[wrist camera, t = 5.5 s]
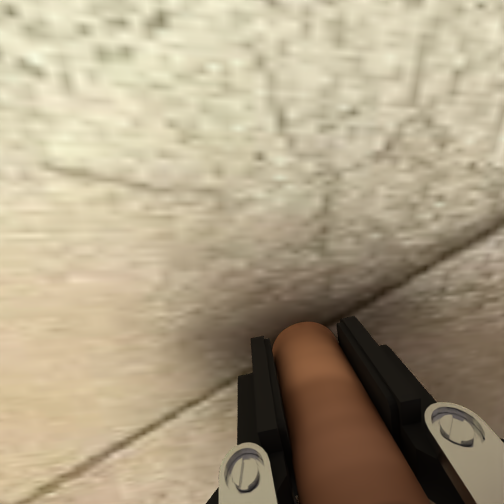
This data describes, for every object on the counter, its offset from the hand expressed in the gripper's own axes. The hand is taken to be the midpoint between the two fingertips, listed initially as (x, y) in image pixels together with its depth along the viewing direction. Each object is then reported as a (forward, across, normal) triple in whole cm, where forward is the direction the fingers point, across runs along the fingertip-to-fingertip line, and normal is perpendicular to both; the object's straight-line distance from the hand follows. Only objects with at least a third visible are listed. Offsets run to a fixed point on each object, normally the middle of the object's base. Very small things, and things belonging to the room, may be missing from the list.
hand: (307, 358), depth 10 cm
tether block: (+1, 0, +7) cm, 7 cm away
